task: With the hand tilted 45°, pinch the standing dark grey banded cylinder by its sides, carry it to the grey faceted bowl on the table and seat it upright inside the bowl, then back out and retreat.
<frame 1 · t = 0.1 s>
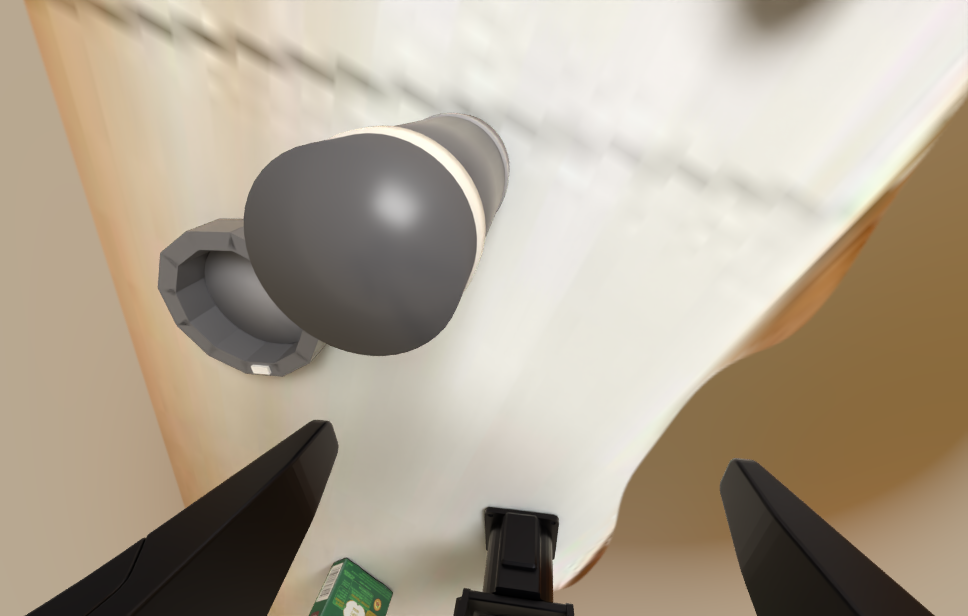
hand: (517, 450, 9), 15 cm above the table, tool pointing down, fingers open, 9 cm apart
dark grey banded cylinder: (460, 169, 20), on the table
coffee box: (363, 573, 44), on the table
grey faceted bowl: (264, 292, 26), on the table
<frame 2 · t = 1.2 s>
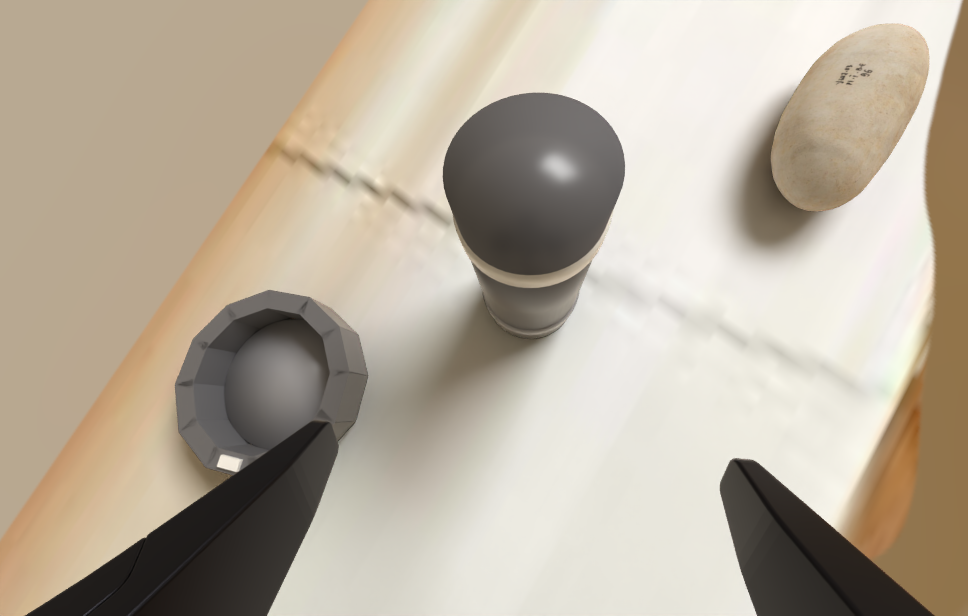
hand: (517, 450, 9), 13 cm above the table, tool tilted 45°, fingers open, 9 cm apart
dark grey banded cylinder: (530, 297, 23), on the table
stone: (812, 147, 24), on the table
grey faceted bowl: (287, 381, 24), on the table
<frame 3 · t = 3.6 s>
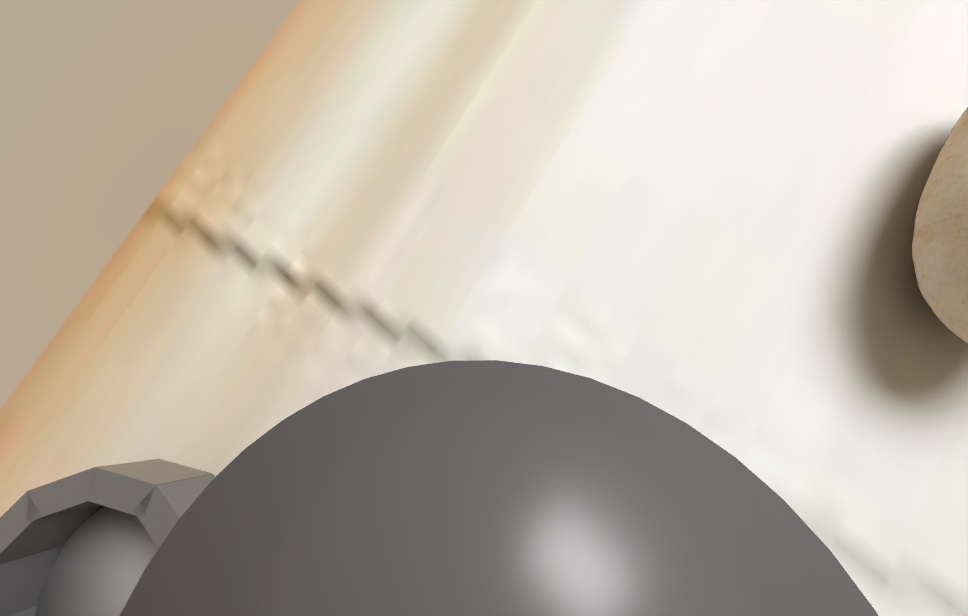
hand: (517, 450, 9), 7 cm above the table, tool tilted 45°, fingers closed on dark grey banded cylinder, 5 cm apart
dark grey banded cylinder: (520, 471, 15), on the table, touching gripper
stone: (962, 227, 15), on the table
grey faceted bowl: (135, 601, 15), on the table
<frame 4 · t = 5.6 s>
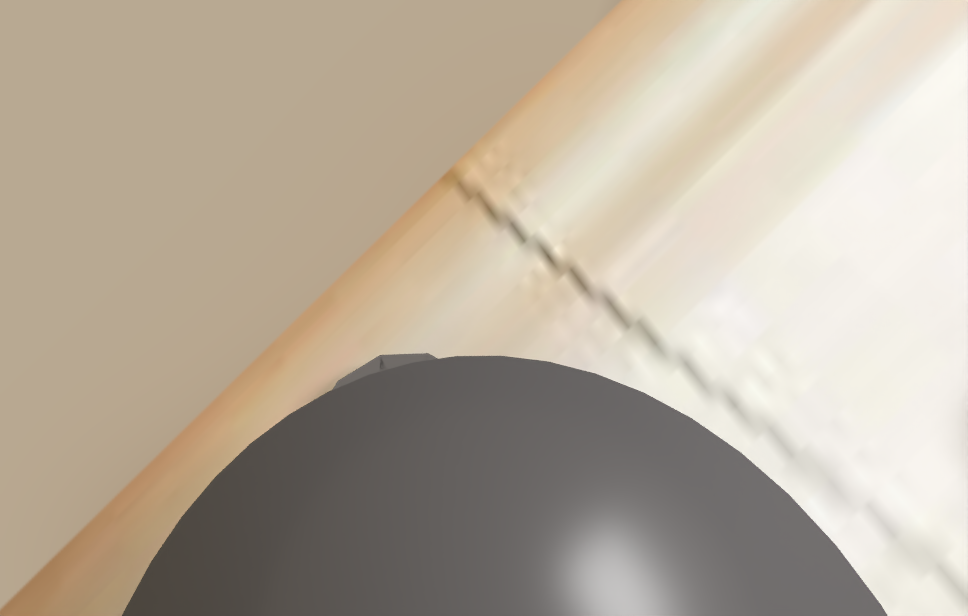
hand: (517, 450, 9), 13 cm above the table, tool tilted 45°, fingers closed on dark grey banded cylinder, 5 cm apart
dark grey banded cylinder: (521, 470, 15), point 7 cm above the table, touching gripper
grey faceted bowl: (414, 447, 22), on the table
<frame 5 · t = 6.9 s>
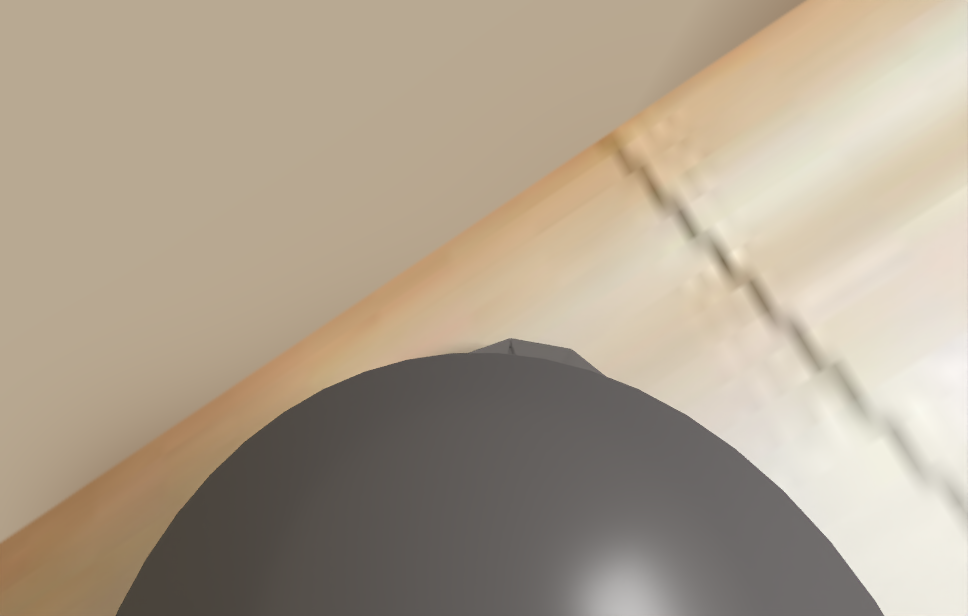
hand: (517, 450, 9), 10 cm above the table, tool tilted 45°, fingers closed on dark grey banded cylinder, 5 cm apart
dark grey banded cylinder: (520, 469, 15), point 3 cm above the table, touching gripper
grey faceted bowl: (521, 456, 18), on the table
when the fingers open (8 cm above the table, at t = 7.7 s): dark grey banded cylinder drops 1 cm, resting on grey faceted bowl.
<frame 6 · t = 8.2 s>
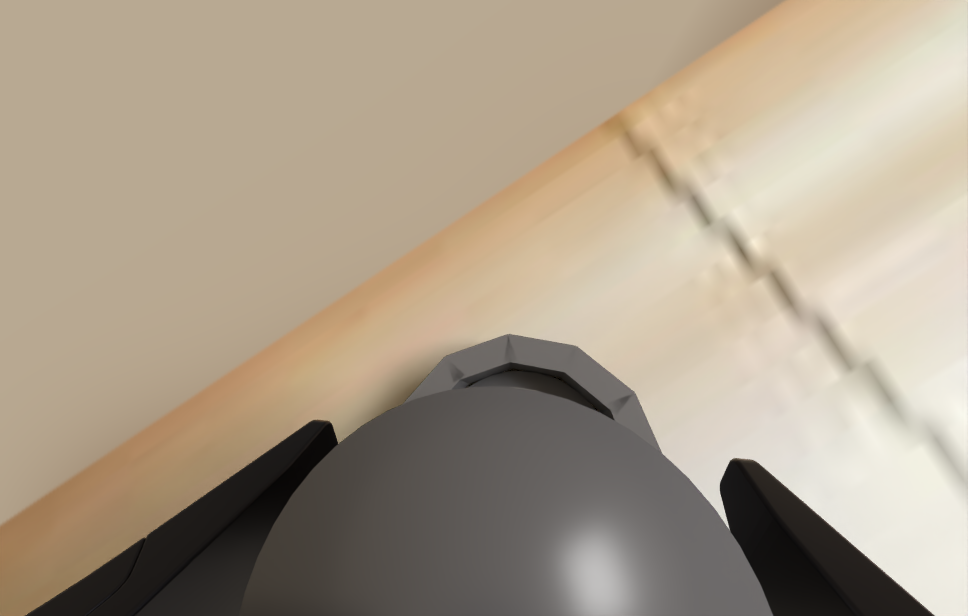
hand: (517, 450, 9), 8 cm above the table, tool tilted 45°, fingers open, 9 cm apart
dark grey banded cylinder: (521, 467, 16), resting on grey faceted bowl
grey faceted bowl: (520, 464, 16), on the table
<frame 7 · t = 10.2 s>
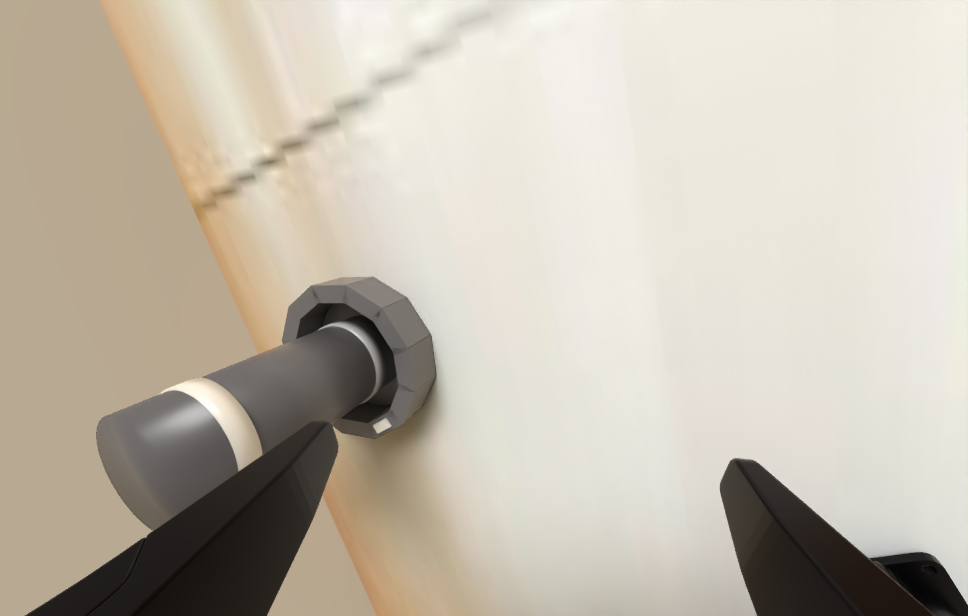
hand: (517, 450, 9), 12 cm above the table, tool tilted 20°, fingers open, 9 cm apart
dark grey banded cylinder: (367, 351, 26), resting on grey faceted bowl
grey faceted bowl: (369, 350, 26), on the table
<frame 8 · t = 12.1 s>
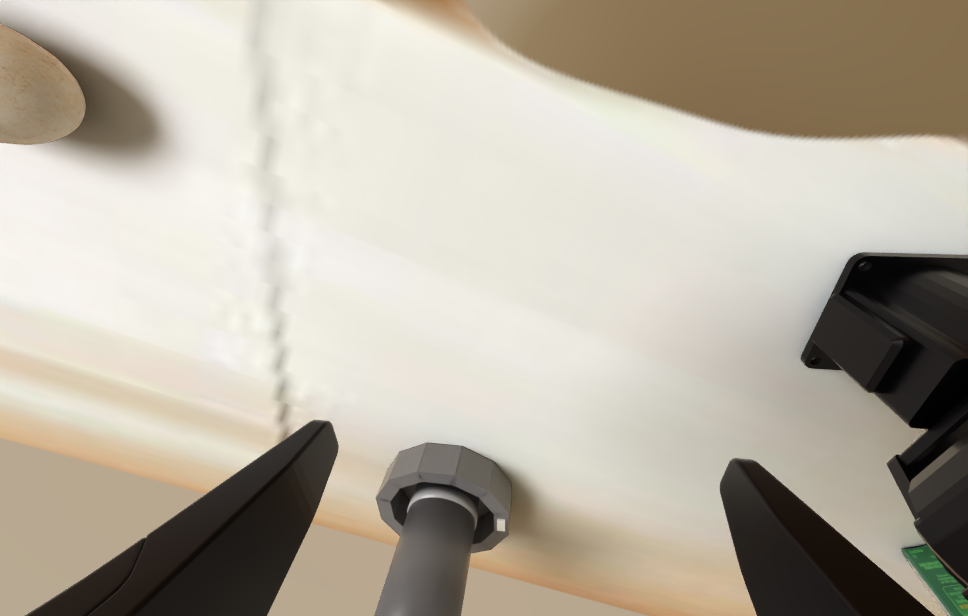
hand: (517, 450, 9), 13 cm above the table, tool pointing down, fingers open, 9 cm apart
dark grey banded cylinder: (448, 490, 31), resting on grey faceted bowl
coffee box: (967, 542, 26), on the table
stone: (6, 63, 19), on the table
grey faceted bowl: (449, 487, 31), on the table
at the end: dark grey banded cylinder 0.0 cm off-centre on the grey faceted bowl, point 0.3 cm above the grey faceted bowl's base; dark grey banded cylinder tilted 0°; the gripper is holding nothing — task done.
